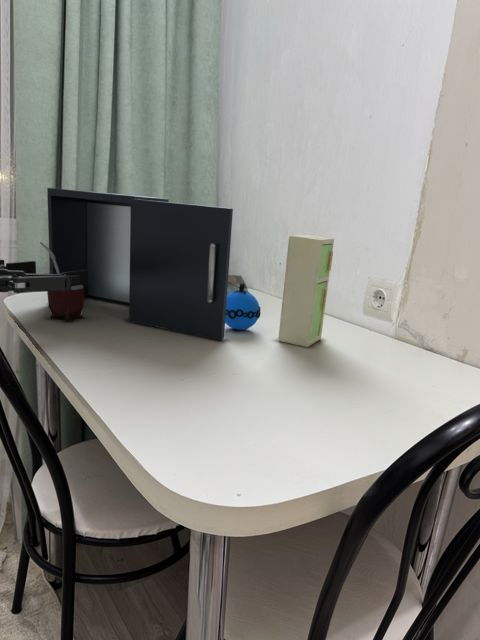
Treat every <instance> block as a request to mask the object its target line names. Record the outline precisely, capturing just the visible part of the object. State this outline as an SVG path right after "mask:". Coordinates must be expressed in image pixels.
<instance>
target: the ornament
mask: <svg viewBox="0 0 480 640" xmlns="http://www.w3.org/2000/svg"><path fill="white" fill-rule="evenodd" d="M244 288H245V285H244V284H243V283H241V284H240V286H239V290H237V291H234V292H232V293H230V294H229V295H227V302H226V317H225V325H226V326H227V327H229V328H231V329H233V330H236V331H245V330H249V328H251V327H253V326H254V325H255V324H256V322H257V321H258V320H259V319H260V317H261V306H260V304H259V301H258V299H257V298H256V297H255V296H254V295H253V294H252V293H251V292H249V291H248V292H247V291H244Z"/></svg>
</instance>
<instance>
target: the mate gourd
mask: <svg viewBox="0 0 480 640" xmlns="http://www.w3.org/2000/svg"><path fill="white" fill-rule="evenodd" d="M39 244H40V245H41V246H42V247H43V248H44V249H45V250H46V252H48V254H49V253H50V257H51V259H52V260H53V263H54V266H55V269H56V272H57V274H60V272H59V269H58V266H57V263H56V260H55V256H54V254H53V253H52V252H51V250H50V249H49V246H47V245H46V244H44V243H43V242H42V241H40V242H39ZM46 296H47V304H48V308H49V311H50V314H51V315H49V317H50V320H62V319H63V320H65V322H67V323H70V322H72V321H71V320H72V319H83V317H84V316H83V315H82V313H83V309H84V306H85V299H84V297H85V294H84V289H83V285H78V286H71V290H69V291H67V292H63V290H58V291H46Z"/></svg>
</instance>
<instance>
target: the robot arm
mask: <svg viewBox="0 0 480 640" xmlns="http://www.w3.org/2000/svg"><path fill="white" fill-rule="evenodd" d="M85 284H88V270H78V271H69V272H61V273H60V274H50V273H37V262H36V261H35V260H30V261H29V260H28V261H17V262H16V261H15V262H6V263H5V259H0V293H9V292H13V293H15V294H21V293H31V292H47V291H58V290H63V292H67V291H69V290H71V286H78V285H85Z"/></svg>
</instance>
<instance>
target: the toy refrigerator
mask: <svg viewBox="0 0 480 640" xmlns="http://www.w3.org/2000/svg"><path fill="white" fill-rule="evenodd" d="M334 242H335V238H334V237H333V238H332V237H326V236H317V235H309V234H295V235H293V234H292V235H289V237H288V243H287V254H286V261H285V262H286V263H285V272H284V283H283V293H282V302H281V310H280V320H279V328H278V329H279V330H278V342H283V343H287V344H293V345H297V346H301V347H306V348H309V347H310V346H312V345H313V344H315V343H317V342H319V341H321V339H322V333H323V325H324V319H325V310H326V305H327V295H328V287H329V280H330V274H331V273H330V272H331V270H332V264H333V257H334V245H335V244H334Z"/></svg>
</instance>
